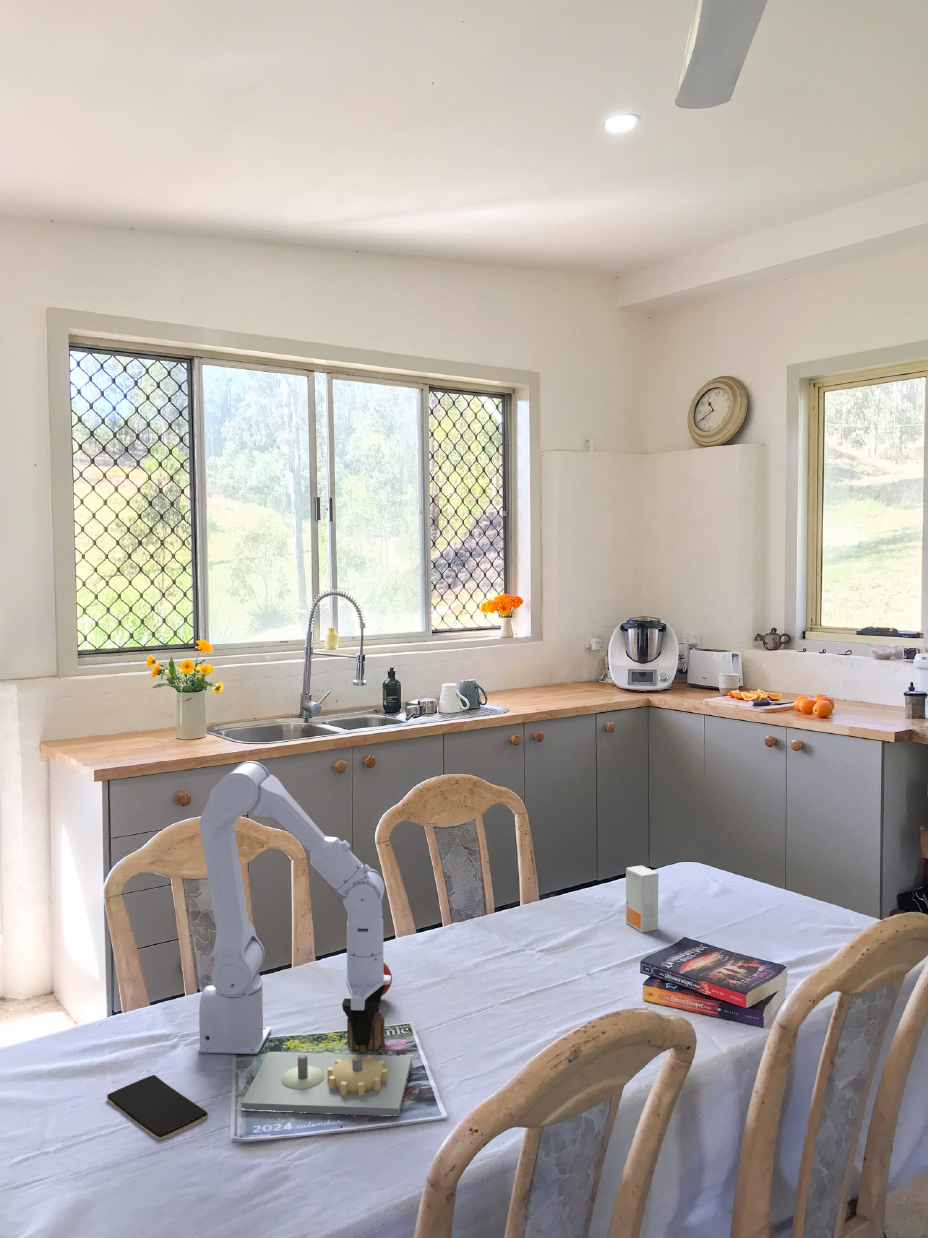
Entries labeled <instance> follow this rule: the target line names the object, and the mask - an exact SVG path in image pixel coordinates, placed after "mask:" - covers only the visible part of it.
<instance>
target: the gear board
mask: <svg viewBox="0 0 928 1238" xmlns="http://www.w3.org/2000/svg"><path fill="white" fill-rule="evenodd" d="M412 1063H413V1058H412V1056H408V1055H407V1056H406V1055H381V1054H379V1055H378V1054H377V1055H376V1054H349V1053H348V1054H347V1053H346V1054H345V1053H313V1052H312V1053H311V1052H288V1051H287V1052H284V1051H282V1052H281V1051H268V1052H267V1054H266V1056H265V1058H264V1060H263V1061H262V1064H261V1065H260V1067H259V1069H258V1070H257V1073H256V1074H255V1075H254V1076H255V1077H254V1078H253V1080H252V1082H251V1084H250V1086H249V1088H248V1090H247V1092H246V1093H245V1095H244V1096H243V1099H242V1100H241V1102H240V1109H241V1108H244V1109H254V1110H272V1111H273V1110H275V1111H293V1112H303V1113H304V1112H306V1113H332V1114H345V1115H344V1116H349V1115H348V1114H353V1115H352V1116H357V1115H391V1116H394V1115H396V1116H399V1117H400V1115H399V1113H400V1114H401V1111H400V1109H401V1110H402V1106H401V1104H402V1105H403V1102H402V1100H403V1101H404V1098H403V1096H404V1097H405V1094H404V1092H405V1093H406V1090H405V1087H406V1088H407V1086H406V1084H407V1085H408V1081H407V1079H408V1080H409V1077H410V1073H409V1071H410V1072H411V1069H410V1068H412V1065H411V1064H412ZM408 1076H409V1077H408ZM303 1113H302V1114H303ZM355 1114H357V1115H355Z"/></svg>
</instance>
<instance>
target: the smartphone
mask: <svg viewBox="0 0 928 1238" xmlns="http://www.w3.org/2000/svg"><path fill="white" fill-rule="evenodd" d="M106 1096H107V1098H106V1099H107V1101H108V1102H109V1103H110V1104H111V1105H112V1106H114V1108H116V1109H117V1110H119V1111H121V1113H123V1115H125V1116H126V1117H128V1118H129V1119H130V1120H132V1121H133V1122H134V1123H135V1124H137V1125H138V1126H140V1128H142V1129H143V1130H144V1131H146V1132H147V1133H149V1135H151V1136H152V1137H153V1138H155V1139H157V1140H158V1141H159V1140H160V1141H162V1140H166V1139H168V1138H171V1137H173V1136H175V1135H177V1134H179V1133H181V1132H184V1131H185V1130H188V1129H190V1128H192V1127H194V1126H196V1125H197V1124H199V1123H201V1122H203V1121H205V1120H206V1119H207V1118H208V1116H209V1113H208V1111H206V1110H205V1109H204V1108H202V1107H201V1106H199V1105H197V1104H196V1102H195V1103H194V1102H193V1101H192V1100H191V1099H189V1098H187V1097H186V1096H184V1095H183V1094H181V1093H180V1092H178V1091H177V1090H175V1089H174V1088H173V1087H172V1086H170V1085H168V1084H167V1083H166V1082H164V1081H163V1080H162V1079H161V1078H159V1077H158V1076H157V1075H155V1074H153V1075H150V1076H147V1077H144V1078H141V1079H140V1080H136V1081H135V1082H131V1083H130V1084H128V1085H124V1086H123V1087H121V1088H118V1089H117V1090H114V1091H112V1092H110V1093H108V1094H107V1095H106Z"/></svg>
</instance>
